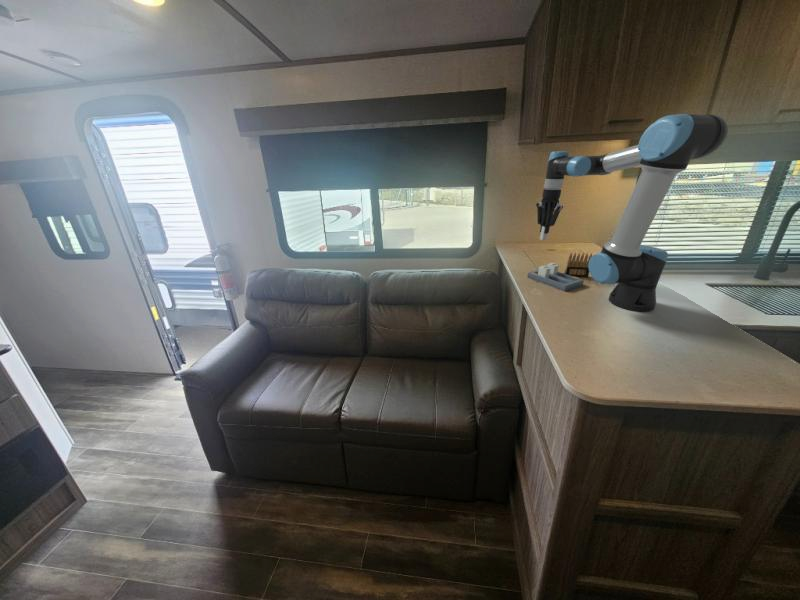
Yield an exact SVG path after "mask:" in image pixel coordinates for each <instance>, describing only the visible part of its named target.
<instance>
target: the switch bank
mask: <svg viewBox="0 0 800 600" xmlns="http://www.w3.org/2000/svg"><path fill="white" fill-rule="evenodd" d="M538 270H539V269H536V270H531V271H529V272H527V279H531V280H533V281H536V282H538V283H541V284H543V285H547V286H548V287H551V288H554V289H556V290H560V291H563V292H567V291H570V290H572V289H573V290H574V289H576V288H579V287H582V286H583V285H584V281H585V280H584V279H582V278H581V277H574V276H570V275H567V274H564V272H560V271H558V272H557V275H554V274H551V273H550V274H549V278H545V277H542V276H540V275H538Z"/></svg>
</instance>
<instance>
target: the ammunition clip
mask: <svg viewBox="0 0 800 600" xmlns="http://www.w3.org/2000/svg"><path fill="white" fill-rule="evenodd" d="M592 256H593V253H591V252H590V255H589V253H588V252H587V253H586V254H585V253H584V252H583V253H580V252H579V253H576V252H574V254H573V252H570V254H569V257H568V259H567V262H566V266H565V269H564V272H563V273H564V274H567V275H570V276H574V277H577V278H589V275H590V272H589V268H588V265H589V261H590V259H591V257H592Z"/></svg>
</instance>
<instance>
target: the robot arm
mask: <svg viewBox="0 0 800 600" xmlns="http://www.w3.org/2000/svg"><path fill="white" fill-rule="evenodd" d="M728 132H729V127H728V124H727V121H725V119H724V118H722V117H720V116H719V115H716V114H715V115H714V114H689V113H688V114H687V113H676V114H669V115H666V116H662V117H661V118H659V119H657V120H655V122H653V123H651V124H650V125H649V126H648V127H647V128H646V130H644V132H643V134H642V135H641V137H640V139H639V141H638V144H636V145H632V146H629V147H626V148H622V149H619V150H614V151H612V152H609V153H605V154H602V155H574V156H573V155H570V152H569V151H568V150H564V151H563V150H562V151H561V150H560V151H559V150H557V151H552V152H550V153H549V154H550V155H549V157H548V158H549V159H548V162H547V167H546V174H545V180H544V185H543V190H542V199H541V200H540V202H537V203H536V208H537V209H536V210H537V211H536V212H537V224H538V225H540V228H539V229H540V230H539V232H540V236H539V240H540V241H546V240H547V236H548V234H549V232H550V228H551V227H553V226H555V224H556V222H557V220H558V217H559V214H560V213H561V211H562V210H563V208H564V205H561V204H560V198H561V196H562V195H561V194H562V188H563V183H564V179H565V176H566V177H573V178H575V177H584V176H606V175H610V174H611V173H613V172H618V171H622V170H628V169H632V168H636V167H640V168H641V172H640V175H639V177H638V179H637V182H636V183H635V186H634V189H632V190H633V191H632V192H631V195H630V198H629V199H628V202H627V204H626V206H625V209H624V211H623V213H622V215H621V218H620V220H619V221H618V225H617V226H616V229H615V231H614V233H613V236H612V238H611V240H610V241H608V242H605V243H604V245H603V246H602V248H601V251H600V252H597V253H595V254H592V257H591V259H590V261H589V265H588V268H589V275H590V276H591V278H592V279H593V280H594V281H595V282H596V283H598V284H601V285H614V284H616V286H615V287H614V288H613V289H612V290H611V292H610V293H609V296H608V301H609V302H610V303H611V304H612V305H613V306H616V307H619V308H621V309H624V310H628V311H634V312H644V313H645V312H652V311H654V310H655V308H656V306H657V294H656V291H657V290H656V289H657V286H658V283H659V281H660V279H661V276H662V273H663V271H664V268H665V265H666V263H667V261H668V255H669V253H668V251H667V250H666V249H665V250H664V249H662V248H659V247H654V246H650V245H643V244H642V243H643V242H644V240H645V237H646V235H647V233H648V231H649V229H650V227H651V225H652V223H653V221H654V219H655V217H656V215H657V213H658V212H659V209H660V207H661V205H662V203H663V201H664V199H665V197H666V195H667V193H668V192H669V190H670V187H671V186H672V184H673V182H674V180H675V178H676V176H677V175H678V174H680V173H682V172H684V171H686V170H687V167H688V165H689V164H690V161H692V160H697V159H702V158H705V157H707V156H709V155H711V154H712V153H714V152H716V151H717V150H718V149H719V148H721V146H722V145H723V144H724V143H725V141H726V139H727V137H728Z"/></svg>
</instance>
